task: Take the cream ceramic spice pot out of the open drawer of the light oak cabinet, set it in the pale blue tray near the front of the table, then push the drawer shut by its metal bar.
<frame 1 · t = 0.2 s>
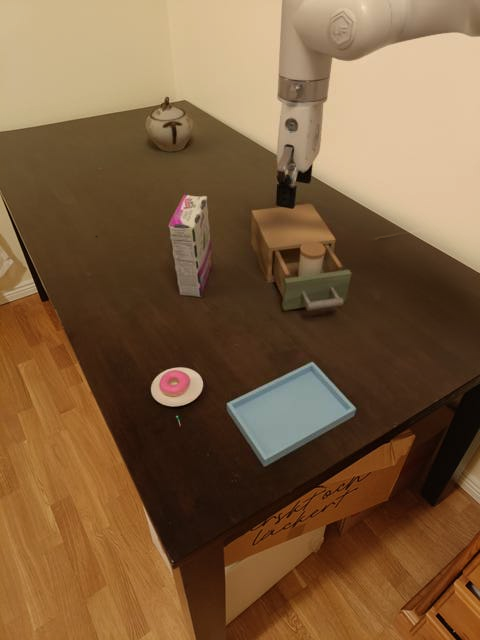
hand: (293, 193, 76), 19 cm above the table, tool pointing down, fingers open, 9 cm apart
donut: (180, 396, 68), on the table
cabinet: (288, 258, 94), on the table
sugar bowl: (172, 147, 139), on the table
tray: (290, 413, 65), on the table
drawer: (309, 277, 82), point 4 cm above the table, slide at 8.5 cm, touching spice pot
candy bar box: (196, 280, 89), on the table
spice pot: (307, 286, 84), point 2 cm above the table, touching drawer
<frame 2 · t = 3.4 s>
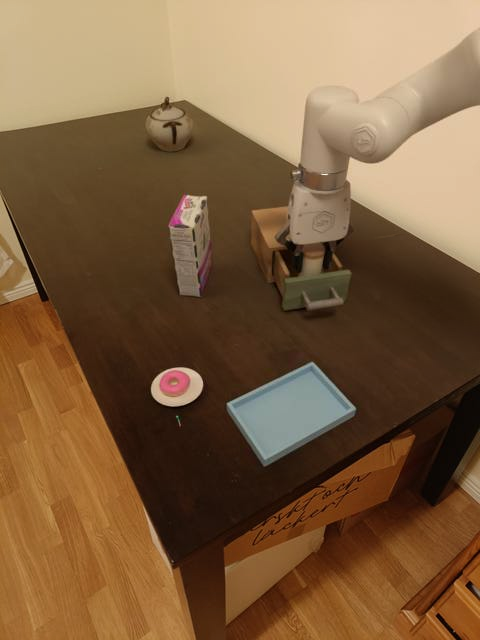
hand: (310, 266, 81), 7 cm above the table, tool pointing down, fingers closed on spice pot, 4 cm apart
spice pot: (307, 286, 84), point 2 cm above the table, touching drawer, gripper
everything else where it was.
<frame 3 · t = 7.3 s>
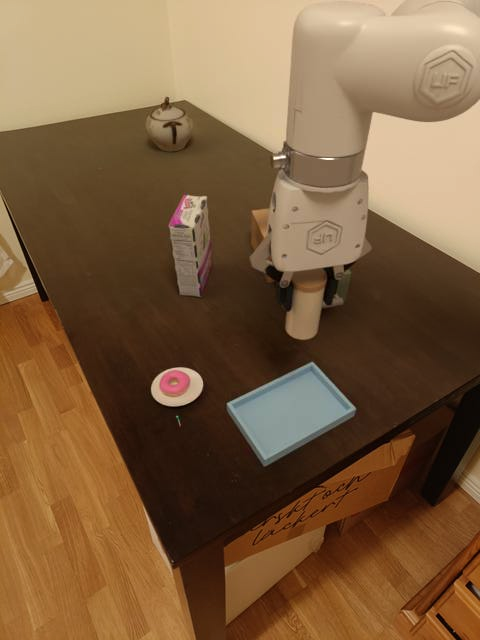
hand: (305, 300, 54), 20 cm above the table, tool pointing down, fingers closed on spice pot, 4 cm apart
drawer: (309, 277, 82), point 4 cm above the table, slide at 8.5 cm
spice pot: (301, 327, 58), point 15 cm above the table, touching gripper
everything else where it was.
when the fingers open (5 cm above the table, at t = 11.1 s): spice pot stays where it is, resting on tray.
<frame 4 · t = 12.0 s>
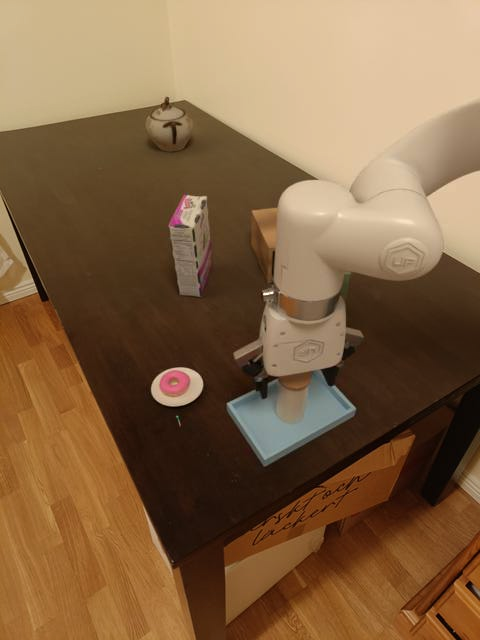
hand: (294, 384, 60), 7 cm above the table, tool pointing down, fingers open, 9 cm apart
spice pot: (290, 411, 65), resting on tray
everything else where it was.
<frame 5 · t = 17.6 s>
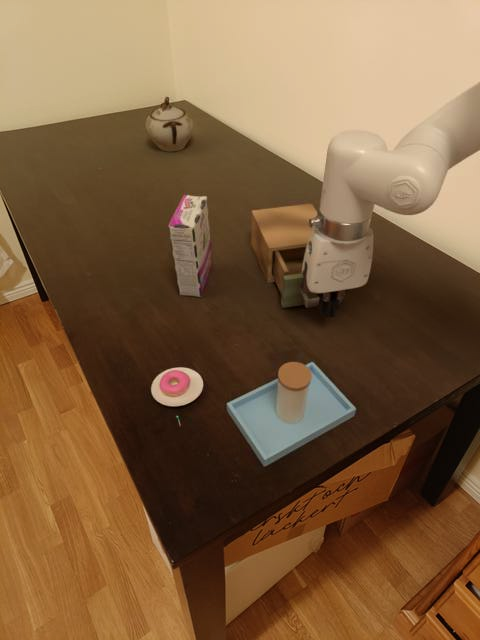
hand: (326, 312, 76), 4 cm above the table, tool pointing down, fingers closed
drawer: (307, 275, 83), point 4 cm above the table, slide at 7.7 cm, touching gripper
everything else where it was.
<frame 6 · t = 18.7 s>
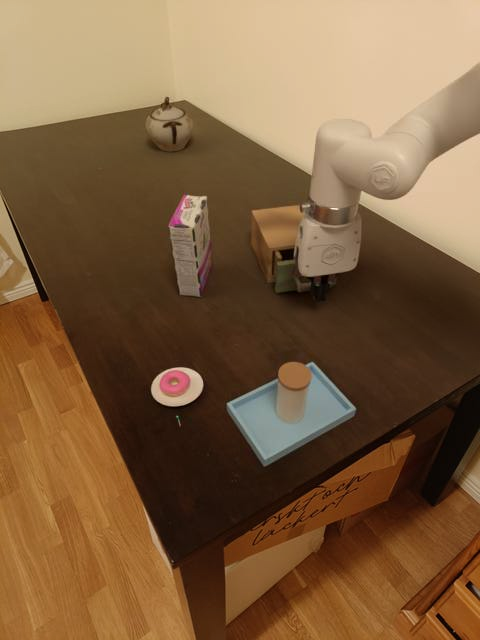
hand: (318, 296, 79), 4 cm above the table, tool pointing down, fingers closed
drawer: (300, 261, 86), point 4 cm above the table, slide at 3.3 cm, touching gripper
everything else where it was.
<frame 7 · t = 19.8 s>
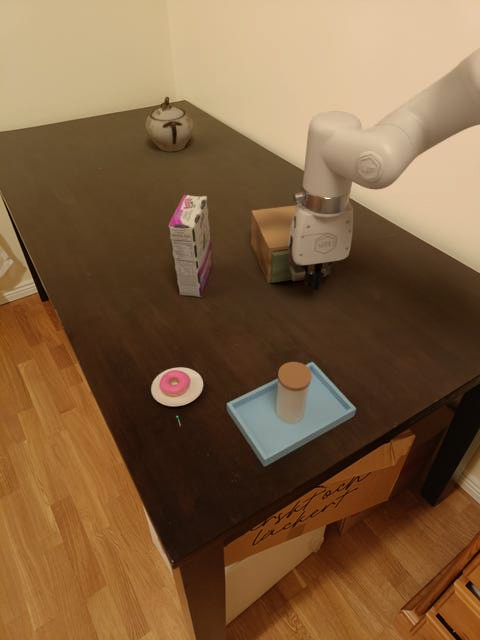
hand: (312, 285, 81), 4 cm above the table, tool pointing down, fingers closed
drawer: (295, 252, 88), point 4 cm above the table, slide at 0.0 cm, touching cabinet, gripper
everything else where it was.
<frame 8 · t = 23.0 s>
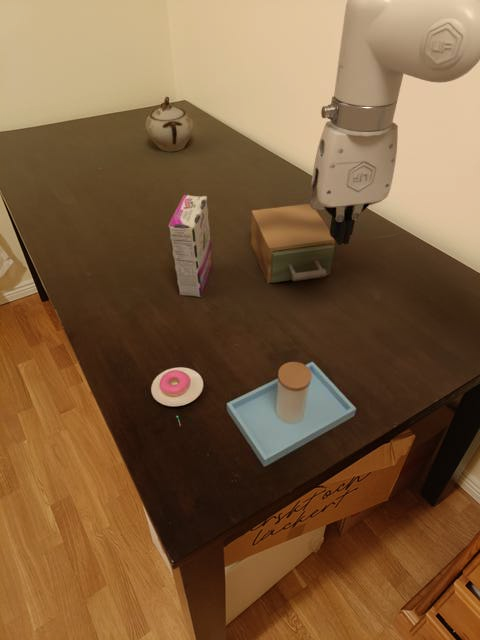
hand: (339, 239, 65), 19 cm above the table, tool pointing down, fingers closed
drawer: (295, 252, 88), point 4 cm above the table, slide at 0.0 cm, touching cabinet
everything else where it was.
at the end: spice pot inside the target area in the tray (0.0 cm from its centre), point 0.5 cm above the tray's base; spice pot tilted 0°; drawer slide at 0.0 cm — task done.
